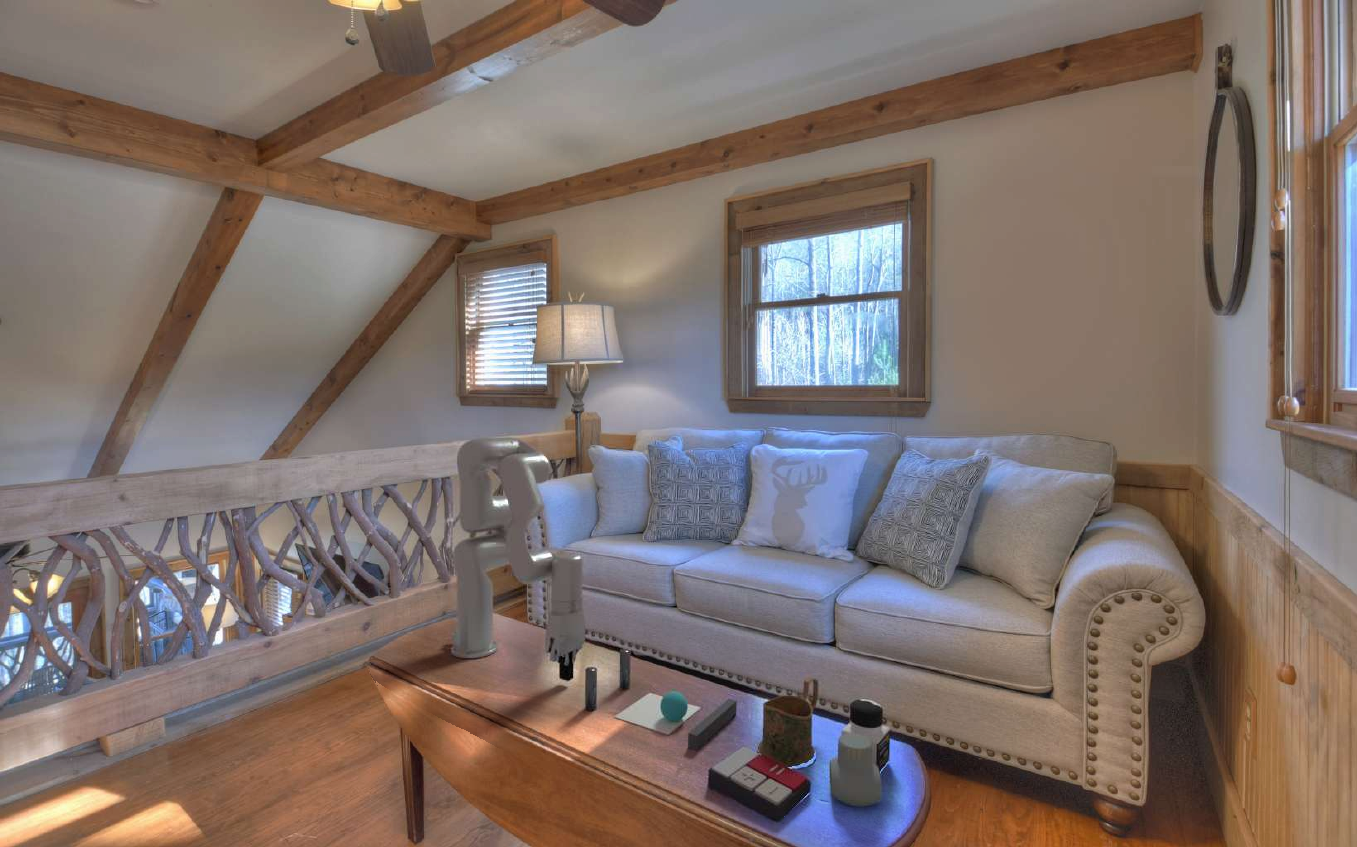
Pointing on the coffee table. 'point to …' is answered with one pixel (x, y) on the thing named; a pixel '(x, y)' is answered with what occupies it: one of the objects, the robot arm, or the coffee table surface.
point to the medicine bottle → (870, 728)
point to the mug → (789, 727)
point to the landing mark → (653, 714)
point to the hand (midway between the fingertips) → (566, 678)
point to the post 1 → (590, 689)
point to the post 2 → (625, 669)
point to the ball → (674, 706)
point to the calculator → (759, 783)
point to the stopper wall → (711, 724)
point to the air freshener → (855, 772)
